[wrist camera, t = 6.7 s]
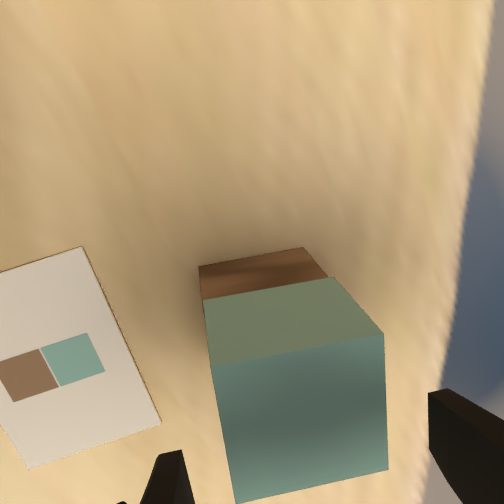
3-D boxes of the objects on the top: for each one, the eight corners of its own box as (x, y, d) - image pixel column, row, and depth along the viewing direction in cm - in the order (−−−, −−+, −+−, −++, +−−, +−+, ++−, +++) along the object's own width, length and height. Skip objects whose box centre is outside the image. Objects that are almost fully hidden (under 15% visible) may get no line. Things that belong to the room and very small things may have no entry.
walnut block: (216, 358, 23) (224, 417, 18) (198, 266, 21) (202, 307, 17) (312, 338, 23) (342, 391, 19) (302, 246, 21) (332, 281, 17)
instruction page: (29, 467, 23) (28, 470, 23) (-75, 296, 19) (-78, 298, 19) (161, 422, 23) (161, 424, 23) (82, 246, 20) (81, 247, 20)
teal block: (223, 411, 18) (235, 504, 14) (203, 300, 17) (210, 367, 12) (341, 386, 19) (388, 469, 15) (333, 276, 17) (383, 333, 13)
